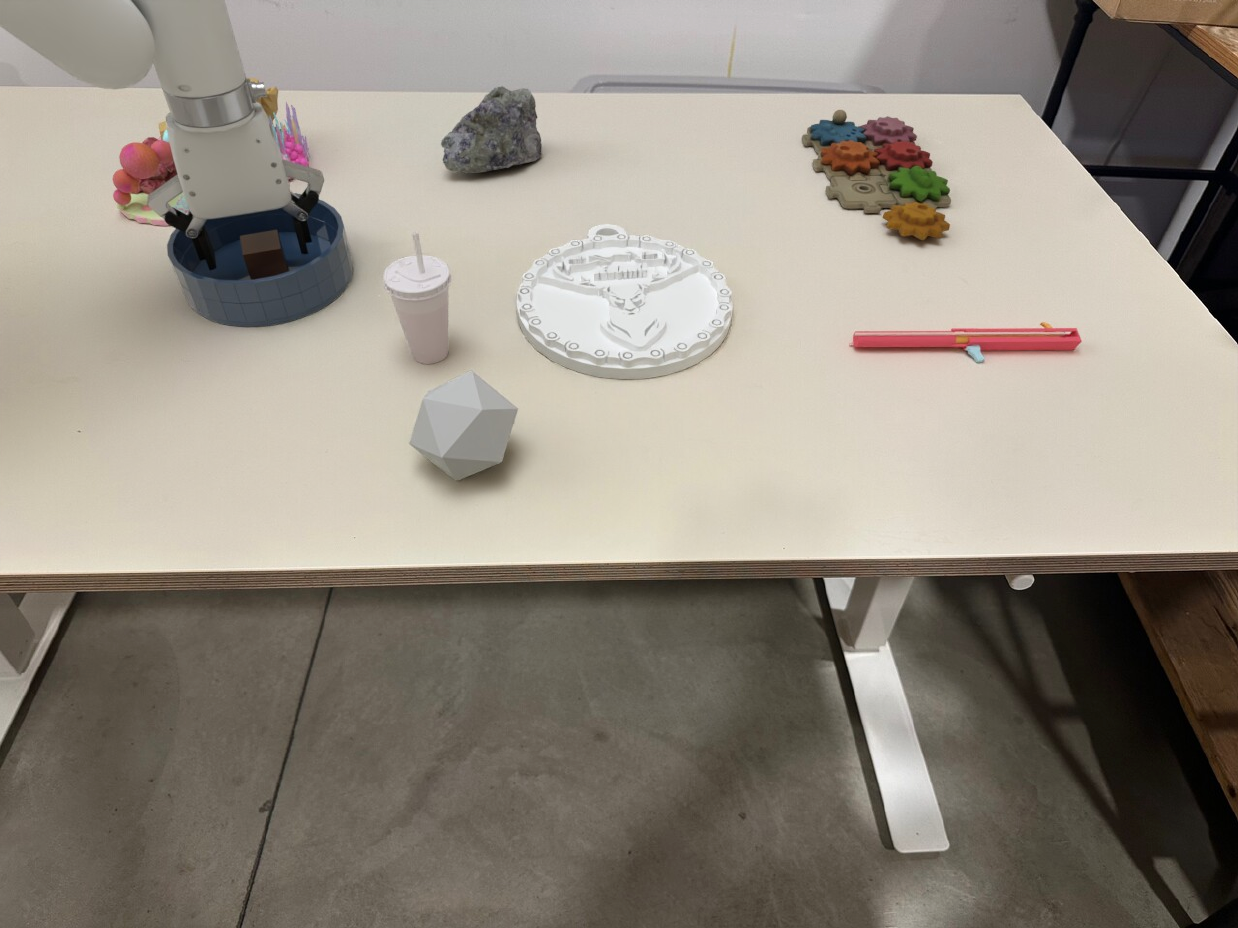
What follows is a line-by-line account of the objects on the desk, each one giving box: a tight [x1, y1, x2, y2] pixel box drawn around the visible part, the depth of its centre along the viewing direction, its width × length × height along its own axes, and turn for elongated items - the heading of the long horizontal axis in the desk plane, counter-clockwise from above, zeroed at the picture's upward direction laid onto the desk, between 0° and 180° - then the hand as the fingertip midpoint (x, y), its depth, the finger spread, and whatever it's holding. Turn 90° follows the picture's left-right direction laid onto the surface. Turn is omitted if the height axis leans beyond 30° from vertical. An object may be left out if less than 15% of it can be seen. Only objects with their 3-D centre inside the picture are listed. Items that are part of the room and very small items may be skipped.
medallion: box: [516, 223, 734, 380], centre depth 95 cm, size 24×27×2 cm
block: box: [240, 230, 289, 280], centre depth 96 cm, size 4×4×4 cm
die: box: [408, 369, 519, 482], centre depth 76 cm, size 8×9×10 cm
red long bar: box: [848, 321, 1083, 363], centre depth 91 cm, size 24×2×5 cm
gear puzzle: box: [801, 109, 952, 241], centre depth 114 cm, size 31×16×4 cm, turn 4°
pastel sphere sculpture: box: [112, 77, 311, 227], centre depth 110 cm, size 25×24×9 cm
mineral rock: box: [440, 85, 543, 174], centre depth 113 cm, size 13×11×10 cm
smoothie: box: [382, 231, 452, 365], centre depth 84 cm, size 6×6×14 cm
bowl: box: [166, 192, 354, 328], centre depth 95 cm, size 18×18×6 cm
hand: (258, 255), depth 95 cm, fingers open, 9 cm apart
